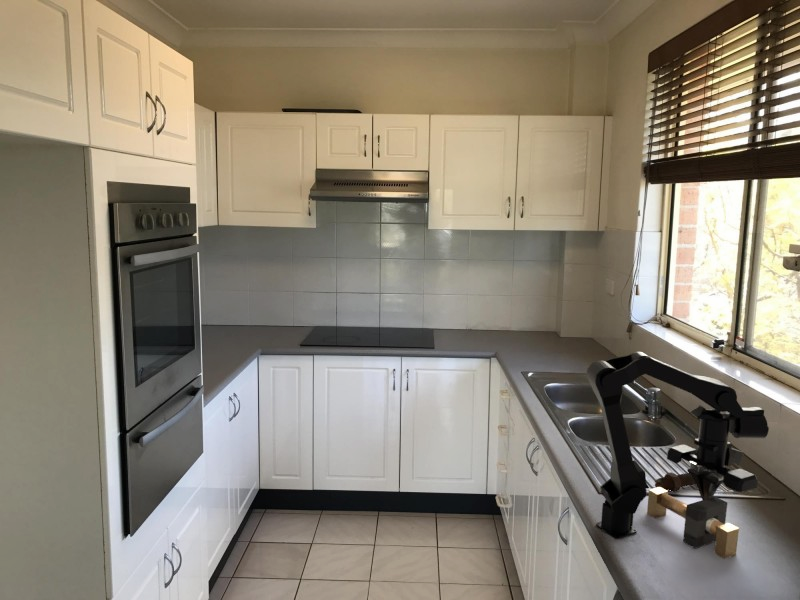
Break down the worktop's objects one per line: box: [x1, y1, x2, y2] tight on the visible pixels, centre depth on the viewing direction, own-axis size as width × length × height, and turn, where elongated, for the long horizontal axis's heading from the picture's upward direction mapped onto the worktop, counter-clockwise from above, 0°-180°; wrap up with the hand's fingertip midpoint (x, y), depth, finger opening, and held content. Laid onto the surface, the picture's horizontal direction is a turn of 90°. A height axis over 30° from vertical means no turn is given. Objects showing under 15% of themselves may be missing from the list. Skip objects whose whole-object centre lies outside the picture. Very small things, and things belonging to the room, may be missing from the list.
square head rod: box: [646, 487, 740, 560], centre depth 136 cm, size 20×4×6 cm, turn 26°
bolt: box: [654, 472, 696, 493], centre depth 158 cm, size 6×5×15 cm
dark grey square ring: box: [682, 496, 728, 549], centre depth 133 cm, size 3×9×9 cm, turn 116°
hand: (706, 502), depth 136 cm, fingers closed
